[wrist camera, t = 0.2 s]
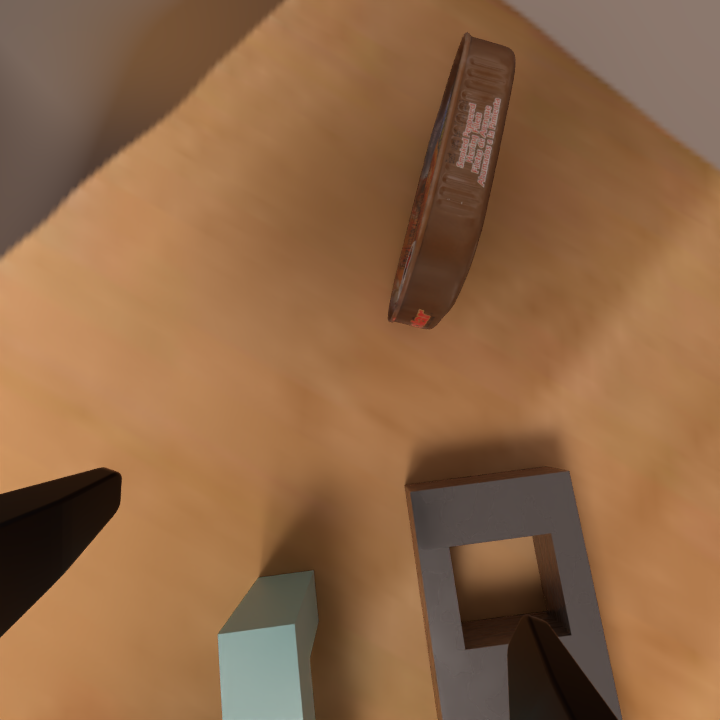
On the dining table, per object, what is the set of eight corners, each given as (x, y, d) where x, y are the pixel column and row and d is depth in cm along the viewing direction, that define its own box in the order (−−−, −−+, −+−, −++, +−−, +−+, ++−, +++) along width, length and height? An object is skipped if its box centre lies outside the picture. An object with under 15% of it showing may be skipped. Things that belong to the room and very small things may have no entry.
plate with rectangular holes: (624, 850, 19) (663, 913, 16) (459, 874, 19) (474, 941, 16) (546, 466, 22) (569, 470, 20) (404, 485, 22) (409, 491, 19)
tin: (433, 122, 26) (466, -21, 18) (480, 132, 26) (535, -8, 18) (380, 337, 24) (389, 286, 15) (431, 350, 23) (469, 305, 15)
